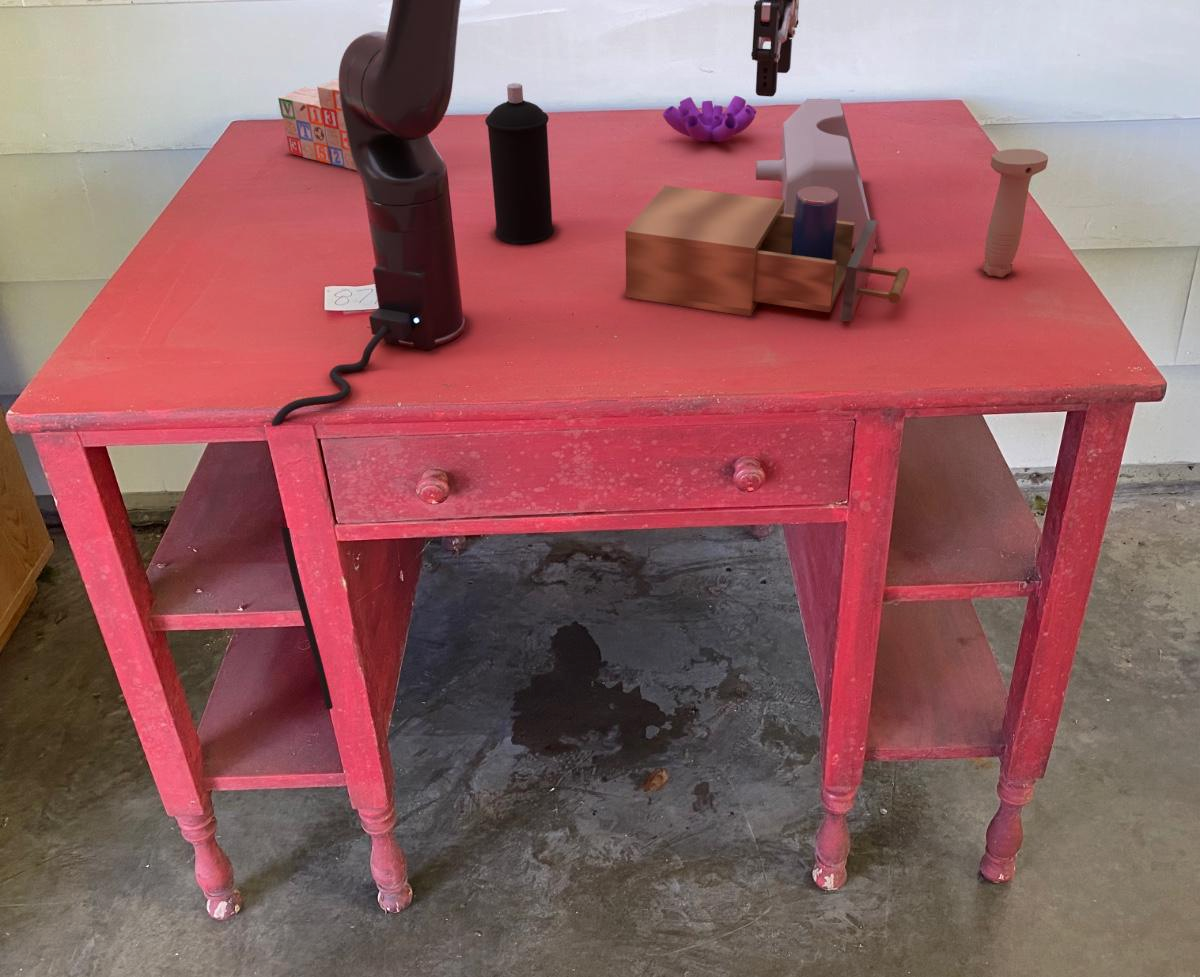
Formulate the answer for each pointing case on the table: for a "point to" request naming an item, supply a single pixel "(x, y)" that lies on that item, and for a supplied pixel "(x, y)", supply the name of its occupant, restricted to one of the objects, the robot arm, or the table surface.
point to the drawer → (820, 270)
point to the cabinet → (698, 248)
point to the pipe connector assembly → (710, 119)
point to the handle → (1009, 206)
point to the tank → (819, 160)
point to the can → (815, 222)
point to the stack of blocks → (317, 124)
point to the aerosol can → (520, 170)
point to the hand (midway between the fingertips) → (773, 83)
